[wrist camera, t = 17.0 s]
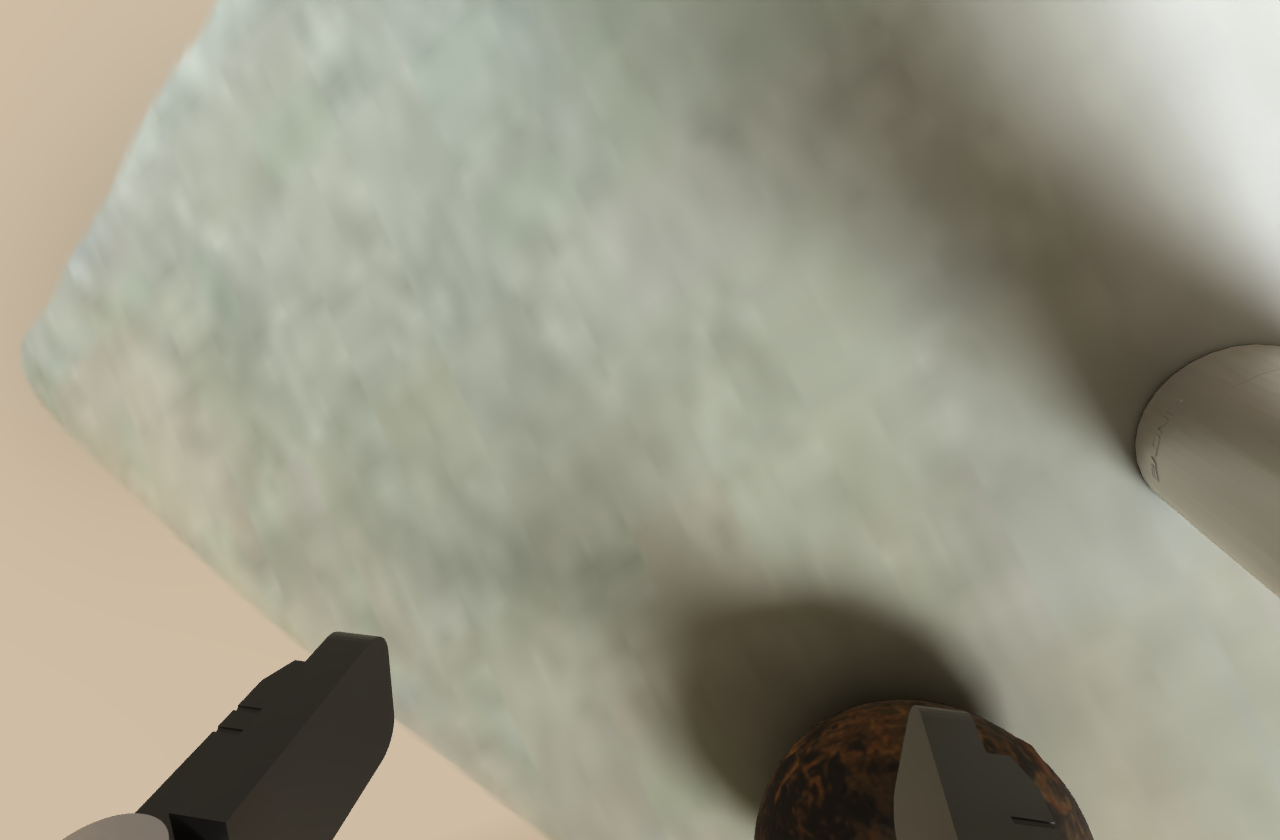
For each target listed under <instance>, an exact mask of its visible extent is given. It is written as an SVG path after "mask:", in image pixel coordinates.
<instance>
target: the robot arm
mask: <svg viewBox="0 0 1280 840" xmlns="http://www.w3.org/2000/svg"><path fill="white" fill-rule="evenodd" d="M1135 448H1136V457H1137V463H1138V466H1139V468H1140V471H1141V474H1142V476H1143V478H1144V480H1145V481H1146V482H1147V484H1148V485H1149V487H1150V488H1151V489H1152V491H1153V492H1154V493H1156V494H1157V495H1158V496H1159V497H1160V498H1162V499H1163V500H1164V501H1165V502H1166V503H1167V504H1169V505H1170V506H1171V507H1172V508H1173V509H1174V510H1176V511H1177V512H1178V513H1179V514H1180V515H1182V516H1183V517H1184V518H1185V519H1186V520H1187V521H1189V522H1190V523H1191V524H1192V525H1193V526H1195V527H1196V528H1197V529H1198V530H1199V531H1200V532H1201V533H1202V534H1203V535H1205V536H1206V537H1207V538H1208V539H1209V540H1211V541H1212V542H1213V543H1214V544H1215V545H1217V546H1218V547H1219V548H1220V549H1221V550H1223V551H1224V552H1225V553H1226V554H1227V555H1229V556H1230V557H1231V558H1232V559H1233V560H1235V561H1236V562H1237V563H1238V564H1239V565H1241V566H1242V567H1243V568H1244V569H1245V570H1247V571H1248V572H1249V573H1250V574H1251V575H1253V576H1254V577H1255V578H1256V579H1257V580H1259V581H1260V582H1261V583H1262V584H1263V585H1265V586H1266V587H1267V588H1268V589H1269V590H1271V591H1272V592H1273V593H1274V594H1275V595H1277V596H1278V597H1279V598H1280V346H1273V345H1259V344H1253V345H1244V346H1235V347H1230V348H1227V349H1223V350H1220V351H1216V352H1213V353H1210V354H1208V355H1206V356H1204V357H1202V358H1200V359H1197V360H1195V361H1193V362H1191V363H1189V364H1188V365H1187V366H1185V367H1184V368H1182V369H1181V370H1180V371H1178V372H1177V373H1175V374H1174V375H1173V376H1171V377H1170V378H1169V379H1168V380H1167V381H1166V382H1165V383H1164V384H1163V385H1162V386H1161V387H1160V388H1159V389H1158V390H1157V392H1156V393H1155V394H1154V396H1153V397H1152V399H1151V400H1150V402H1149V403H1148V405H1147V406H1146V408H1145V410H1144V412H1143V415H1142V417H1141V420H1140V423H1139V425H1138V429H1137V436H1136V442H1135ZM393 726H394V709H393V698H392V687H391V676H390V665H389V654H388V646H387V643H386V641H385V639H384V638H382V637H377V636H369V635H361V634H353V633H345V632H334V633H332V634H330V635H329V636H328V637H327V638H326V639H325V640H324V642H323V643H322V644H321V645H320V646H319V647H318V648H317V649H316V650H315V651H314V653H313V654H312V655H311V656H310V657H309V658H308V659H307V660H306V661H305V662H304V661H297V660H295V661H293V662H291V663H290V664H288V665H286V666H285V667H283V668H282V669H280V670H278V671H277V672H275V673H273V674H272V675H270V676H268V677H267V678H265V679H263V680H262V681H261V682H260V683H259V684H258V685H257V686H256V687H255V688H254V689H253V690H252V691H251V692H250V693H249V695H248V696H247V697H246V698H245V699H244V700H243V701H242V702H241V703H240V704H239V705H238V709H237V710H236V711H235V710H233V711H232V712H231V713H230V714H229V715H228V716H227V718H226V719H225V720H224V721H223V722H222V723H221V724H220V725H219V726H218V730H217V732H212V733H211V734H210V735H209V736H208V738H206V740H204V742H203V743H202V744H201V745H200V746H199V747H198V748H197V749H196V750H195V751H194V752H193V753H192V754H191V755H190V756H189V757H188V758H187V759H186V760H185V761H184V763H183V764H182V765H181V766H180V767H179V768H178V769H177V770H176V771H175V772H174V773H173V774H172V775H171V776H170V777H169V778H168V779H167V780H166V781H165V782H164V783H163V784H162V786H161V787H160V788H159V789H158V790H157V791H156V792H155V793H154V794H153V795H152V796H151V797H150V798H149V799H148V800H147V801H146V802H145V803H144V804H143V805H142V806H141V807H140V808H139V810H138V811H137V812H135V813H134V814H124V815H123V814H122V815H116V816H112V817H109V818H105V819H102V820H100V821H97V822H94V823H92V824H89V825H87V826H85V827H83V828H81V829H79V830H77V831H76V832H74V833H72V834H70V835H69V836H67V837H66V838H64V839H63V840H333V838H334V837H335V835H336V833H337V832H338V830H339V829H340V827H341V825H342V824H343V822H344V821H345V819H346V817H347V816H348V814H349V813H350V811H351V809H352V808H353V806H354V805H355V803H356V801H357V800H358V798H359V797H360V795H361V793H362V792H363V790H364V789H365V787H366V785H367V784H368V782H369V781H370V779H371V778H372V776H373V774H374V772H375V771H376V770H377V768H378V766H379V765H380V763H381V761H382V760H383V758H384V756H385V754H386V752H387V749H388V747H389V744H390V741H391V737H392V732H393ZM894 825H895V833H896V839H897V840H1063V839H1062V837H1061V835H1060V833H1059V830H1057V829H1055V822H1054V819H1053V817H1052V815H1051V813H1050V810H1049V808H1048V806H1047V804H1046V802H1045V799H1044V797H1043V795H1042V793H1041V791H1040V788H1039V787H1038V786H1037V785H1036V784H1035V783H1034V781H1033V780H1032V779H1031V778H1030V777H1029V776H1028V775H1027V774H1026V773H1025V772H1024V771H1023V770H1022V768H1021V767H1020V766H1019V765H1018V764H1017V763H1016V762H1015V761H1014V760H1013V759H1012V758H1011V757H1010V756H1007V755H999V754H992V753H986V751H985V748H984V746H983V743H982V741H981V738H980V736H979V733H978V730H977V728H976V725H975V723H974V720H973V718H972V716H971V715H970V714H969V713H968V712H965V711H957V710H949V709H941V708H933V707H925V706H917V705H914V706H913V707H912V708H911V710H910V713H909V717H908V721H907V727H906V732H905V737H904V743H903V748H902V753H901V758H900V764H899V769H898V774H897V780H896V785H895V792H894Z"/></svg>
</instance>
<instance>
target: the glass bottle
mask: <svg viewBox="0 0 1280 840" xmlns="http://www.w3.org/2000/svg"><path fill="white" fill-rule="evenodd" d="M914 705H917V706H925V707H933V708H941V709H949V710H957V711H964V710H961V709H958V708H954V707H950V706H947V705H943V704H938V703H933V702H927V701H920V700H905V699H904V700H899V699H896V700H886V701H878V702H871V703H866V704H863V705H859V706H854V707H852V708H849V709H847V710H845V711H842V712H840V713H838V714H836V715H834V716H831V717H830V718H828V719H826V720H824V721H822V722H820V723H819V724H817V725H816V726H815V727H814V728H812V729H811V730H810V731H808V732H807V733H806V734H805V735H803V736H802V737H801V738H800V739H799V740H798V741H797V742H796V743H795V744H794V746H793V747H792V748H791V749H790V750H789V751H788V753H787V754H786V755H785V756H784V758H783V759H782V760H781V762H780V763H779V765H778V766H777V768H776V770H775V771H774V773H773V775H772V777H771V779H770V781H769V783H768V785H767V787H766V789H765V792H764V795H763V798H762V801H761V804H760V808H759V812H758V816H757V821H756V828H755V836H754V840H897V839H896V833H895V825H894V792H895V785H896V780H897V774H898V769H899V764H900V758H901V753H902V748H903V743H904V737H905V732H906V727H907V721H908V717H909V713H910V710H911V708H912V707H913V706H914ZM965 712H966V711H965ZM968 713H969V712H968ZM969 714H970V715H971V716H972V718H973V720H974V723H975V725H976V728H977V730H978V733H979V736H980V738H981V741H982V743H983V746H984V748H985V751H986V753H992V754H999V755H1007V756H1010V757H1011V758H1012V759H1013V760H1014V761H1015V762H1016V763H1017V764H1018V765H1019V766H1020V767H1021V768H1022V770H1023V771H1024V772H1025V773H1026V774H1027V775H1028V776H1029V777H1030V778H1031V779H1032V780H1033V781H1034V783H1035V784H1036V785H1037V786H1038V787H1039V788H1040V791H1041V793H1042V795H1043V797H1044V799H1045V802H1046V804H1047V806H1048V808H1049V810H1050V813H1051V815H1052V817H1053V819H1054V822H1055V829H1057V830H1059V833H1060V835H1061V837H1062V839H1063V840H1094V839H1093V836H1092V834H1091V831H1090V829H1089V826H1088V824H1087V822H1086V820H1085V818H1084V816H1083V814H1082V812H1081V810H1080V808H1079V806H1078V804H1077V803H1076V801H1075V799H1074V798H1073V796H1072V795H1071V793H1070V791H1069V790H1068V789H1067V788H1066V786H1065V784H1064V783H1063V782H1062V781H1061V779H1060V778H1059V777H1058V776H1057V775H1056V774H1055V772H1054V771H1053V770H1052V769H1051V768H1050V766H1049V765H1048V764H1046V763H1045V762H1044V761H1043V760H1042V758H1041V757H1040V756H1039V755H1038V753H1037V752H1036V750H1035V749H1034V748H1033V747H1032V746H1031V745H1030V744H1028V743H1026V742H1025V741H1023V740H1021V739H1019V738H1016V737H1015V736H1013V735H1012V734H1010V733H1009V732H1007V731H1005V730H1004V729H1002V728H1000V727H998V726H996V725H994V724H993V723H991V722H989V721H987V720H985V719H983V718H981V717H979V716H976V715H974V714H972V713H969Z"/></svg>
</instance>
